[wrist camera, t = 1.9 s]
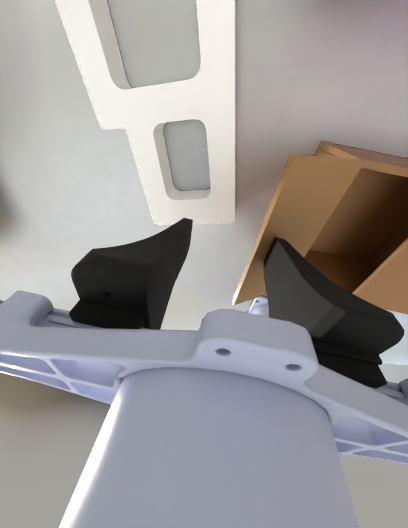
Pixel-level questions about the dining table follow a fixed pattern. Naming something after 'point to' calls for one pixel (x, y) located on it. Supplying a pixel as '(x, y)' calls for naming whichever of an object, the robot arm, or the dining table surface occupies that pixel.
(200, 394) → the robot arm
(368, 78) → the dining table surface
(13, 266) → the dining table surface
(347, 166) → the flap
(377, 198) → the carton
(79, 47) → the holder
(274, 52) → the dining table surface
